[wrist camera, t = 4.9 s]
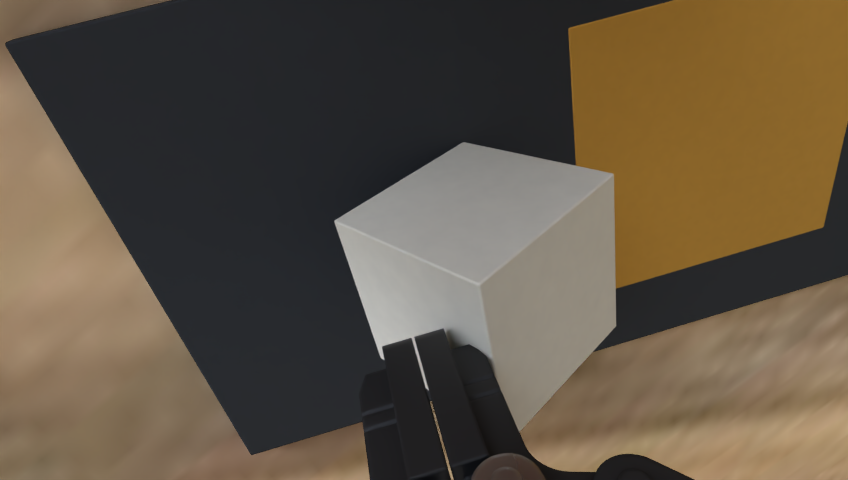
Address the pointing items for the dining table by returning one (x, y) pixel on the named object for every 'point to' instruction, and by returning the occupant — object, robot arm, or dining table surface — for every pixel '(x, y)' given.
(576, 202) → the matte off-white cube
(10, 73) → the dining table surface
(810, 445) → the dining table surface
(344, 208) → the mat
